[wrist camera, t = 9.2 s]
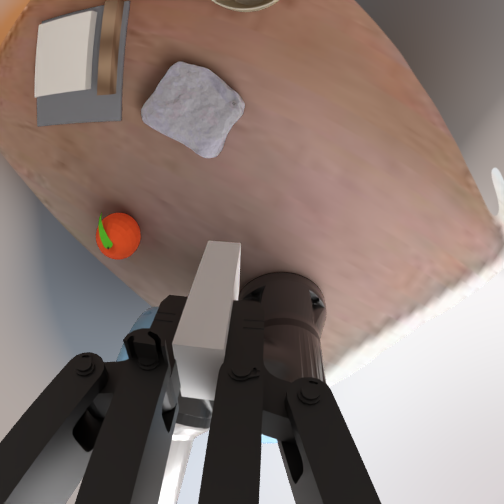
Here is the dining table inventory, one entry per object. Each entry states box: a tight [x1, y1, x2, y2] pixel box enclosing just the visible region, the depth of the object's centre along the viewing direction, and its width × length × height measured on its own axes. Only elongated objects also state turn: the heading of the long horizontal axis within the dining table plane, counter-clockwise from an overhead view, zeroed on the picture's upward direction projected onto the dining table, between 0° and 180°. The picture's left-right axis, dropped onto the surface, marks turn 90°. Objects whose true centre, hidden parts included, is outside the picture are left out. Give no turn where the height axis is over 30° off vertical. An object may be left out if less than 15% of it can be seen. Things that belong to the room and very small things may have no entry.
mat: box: [37, 1, 130, 126], centre depth 33 cm, size 18×16×1 cm
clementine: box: [96, 213, 141, 260], centre depth 43 cm, size 8×7×7 cm
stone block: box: [141, 61, 245, 158], centre depth 36 cm, size 12×5×10 cm
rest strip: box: [97, 0, 124, 95], centre depth 31 cm, size 14×2×2 cm, turn 174°
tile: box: [35, 11, 97, 97], centre depth 31 cm, size 12×2×10 cm
